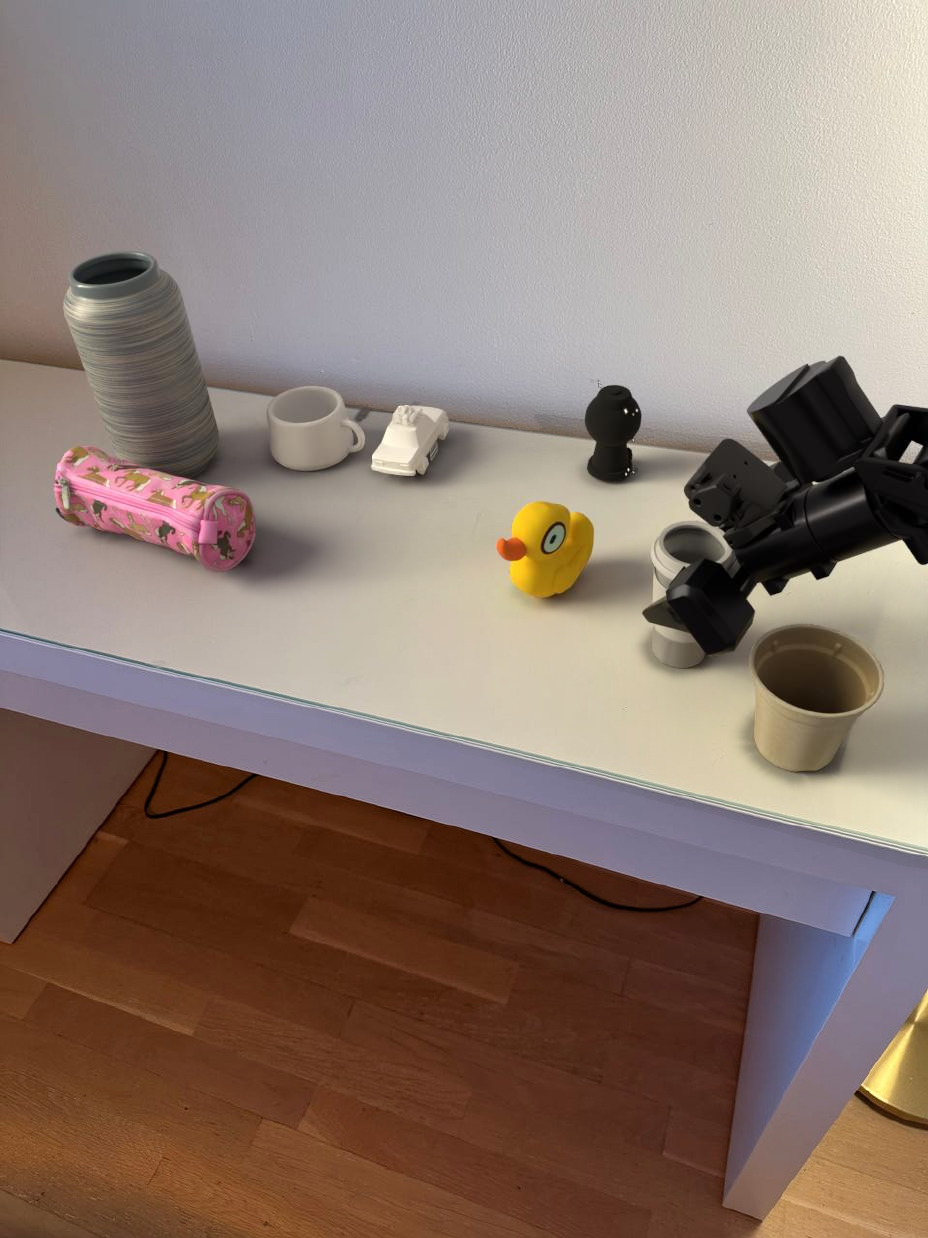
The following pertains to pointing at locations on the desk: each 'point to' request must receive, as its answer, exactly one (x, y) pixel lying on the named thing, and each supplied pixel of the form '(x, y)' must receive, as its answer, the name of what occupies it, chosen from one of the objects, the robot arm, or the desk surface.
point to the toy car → (410, 440)
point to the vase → (142, 362)
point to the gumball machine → (612, 432)
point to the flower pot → (810, 692)
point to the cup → (669, 557)
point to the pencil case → (155, 507)
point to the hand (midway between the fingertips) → (670, 584)
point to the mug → (311, 429)
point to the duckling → (547, 548)
